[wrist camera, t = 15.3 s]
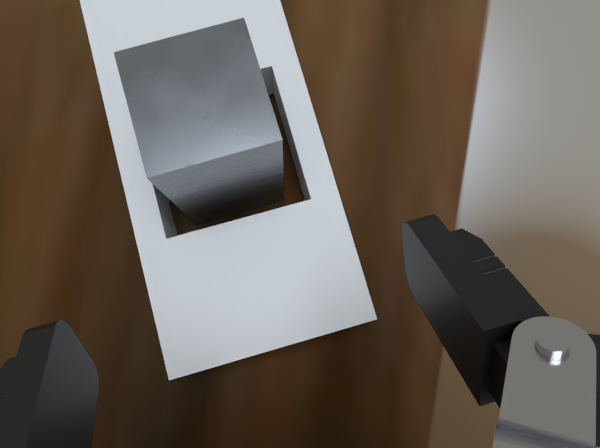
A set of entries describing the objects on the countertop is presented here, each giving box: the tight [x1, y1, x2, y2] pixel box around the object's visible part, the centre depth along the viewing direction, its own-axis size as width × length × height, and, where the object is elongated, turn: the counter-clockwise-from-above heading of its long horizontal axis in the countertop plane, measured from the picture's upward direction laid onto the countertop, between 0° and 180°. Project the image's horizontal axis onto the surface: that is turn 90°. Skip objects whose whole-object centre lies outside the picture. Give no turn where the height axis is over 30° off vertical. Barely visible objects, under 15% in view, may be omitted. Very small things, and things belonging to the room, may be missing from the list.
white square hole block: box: [80, 0, 377, 380], centre depth 24 cm, size 9×18×3 cm, turn 16°
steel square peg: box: [114, 18, 284, 225], centre depth 21 cm, size 4×4×9 cm
